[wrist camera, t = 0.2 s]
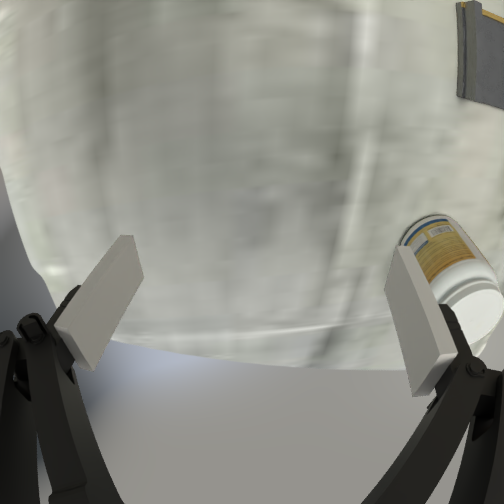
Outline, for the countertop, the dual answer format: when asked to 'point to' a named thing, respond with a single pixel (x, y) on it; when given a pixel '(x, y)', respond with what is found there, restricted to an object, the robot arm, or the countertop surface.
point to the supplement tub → (457, 274)
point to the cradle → (480, 54)
